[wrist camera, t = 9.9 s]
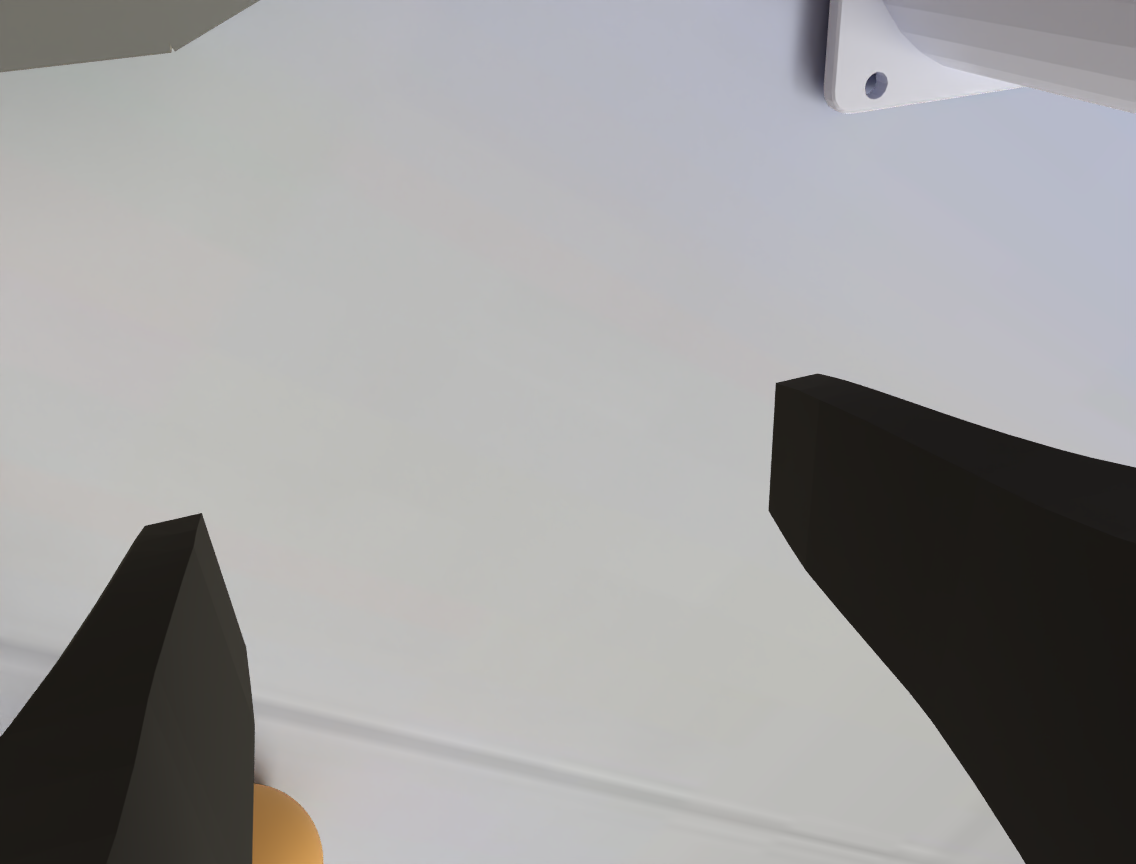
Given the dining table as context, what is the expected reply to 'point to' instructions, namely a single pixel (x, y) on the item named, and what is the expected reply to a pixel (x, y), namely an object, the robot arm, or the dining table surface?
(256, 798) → the figurine
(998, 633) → the robot arm
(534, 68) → the dining table surface
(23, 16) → the round tray
